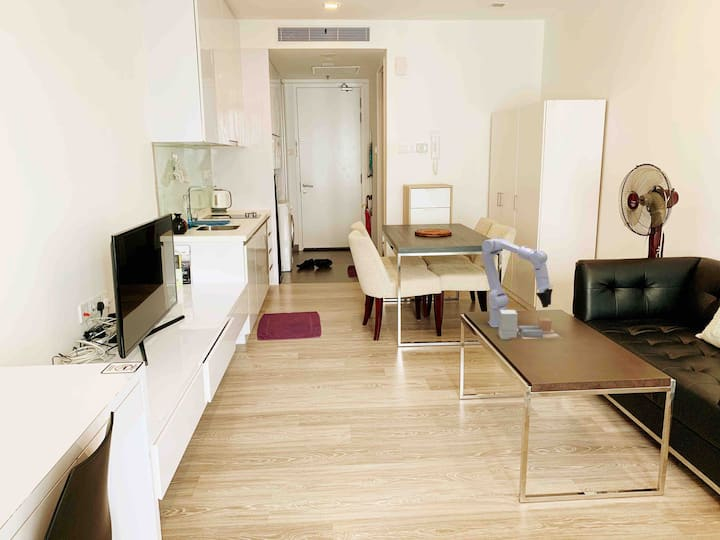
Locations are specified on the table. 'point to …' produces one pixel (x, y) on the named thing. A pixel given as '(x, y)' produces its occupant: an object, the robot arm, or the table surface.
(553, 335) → the base board
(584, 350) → the table surface
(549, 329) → the block
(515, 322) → the supplement box
